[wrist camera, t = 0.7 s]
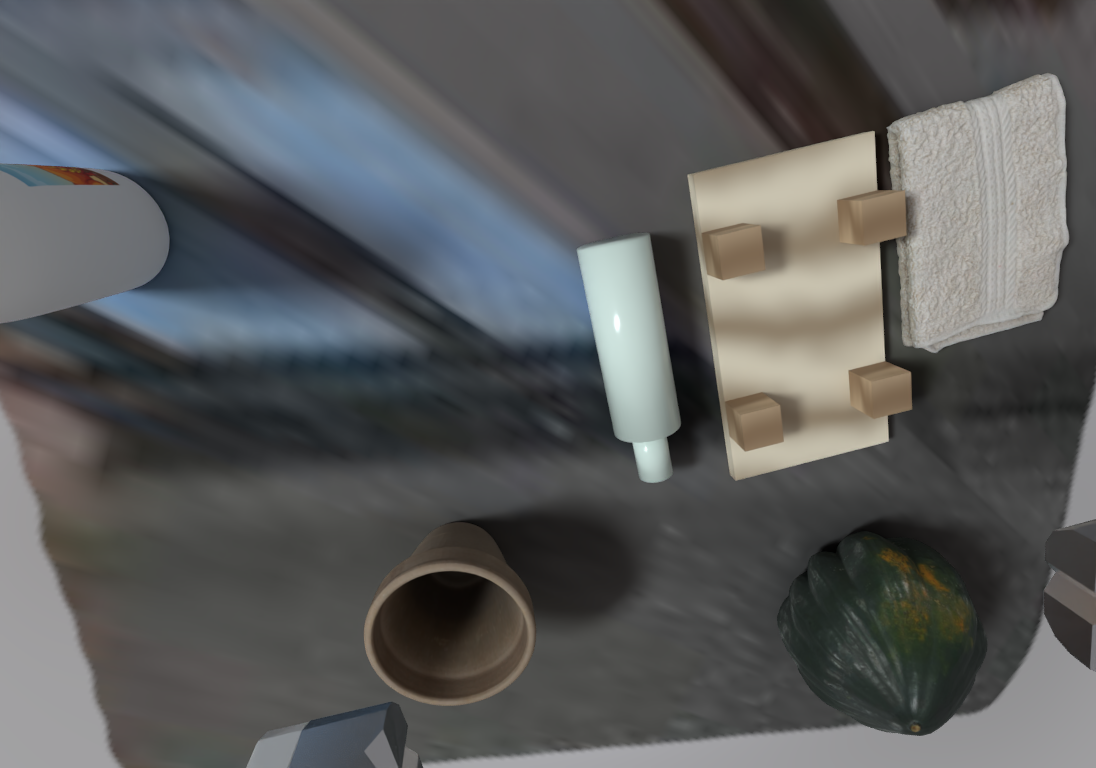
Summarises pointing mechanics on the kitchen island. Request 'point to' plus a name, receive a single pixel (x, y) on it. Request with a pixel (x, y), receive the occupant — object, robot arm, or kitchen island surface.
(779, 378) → the board
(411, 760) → the robot arm
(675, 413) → the ceramic bottle
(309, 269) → the kitchen island surface
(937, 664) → the squash
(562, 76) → the kitchen island surface
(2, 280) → the milk bottle
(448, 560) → the flower pot
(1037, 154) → the washcloth
